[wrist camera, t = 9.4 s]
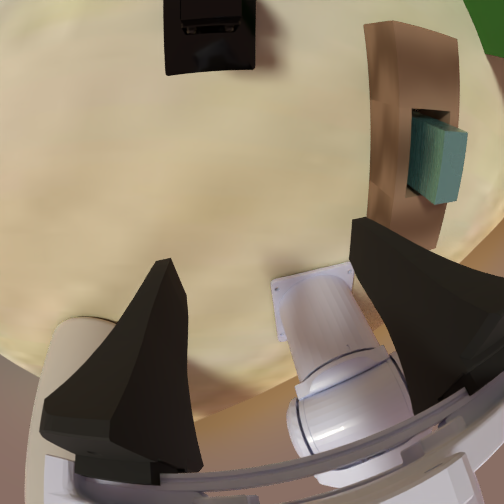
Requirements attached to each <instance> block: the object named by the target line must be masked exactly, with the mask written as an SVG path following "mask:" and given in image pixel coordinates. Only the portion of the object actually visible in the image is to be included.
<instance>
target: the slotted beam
mask: <svg viewBox="0 0 504 504" xmlns="http://www.w3.org/2000/svg"><path fill="white" fill-rule="evenodd" d="M364 33H365V41H366V49H367V60H368V72H369V87H370V113H371V152H370V179H369V195H368V208H367V218H369V219H371V220H373V221H375V222H377V223H379V224H381V225H383V226H385V227H386V228H388V229H390V230H392V231H394V232H395V233H397V234H399V235H401V236H403V237H404V238H406V239H408V240H410V241H412V242H414V243H415V244H417V245H419V246H421V247H423V248H425V249H427V250H431V249H434V248H436V244H437V241H438V237H439V234H440V230H441V226H442V222H443V218H444V214H445V209H446V205H447V203H442V204H437V205H434V204H433V203H431V202H430V201H429V200H428V199H426V198H425V197H424V196H423V195H421V194H420V193H419V192H418V191H416V190H415V189H414V188H412V187H411V186H410V185H408V184H407V177H408V168H409V157H410V142H411V120H412V108H416V109H420V113H421V114H424V115H427V116H429V117H432V118H435V119H437V120H440V121H442V122H445V123H447V124H449V125H452V126H454V127H456V128H458V121H459V98H460V77H459V55H458V42H457V39H455V38H453V37H450V36H447V35H444V34H441V33H438V32H435V31H432V30H428V29H425V28H421V27H418V26H414V25H410V24H406V23H402V22H398V21H385V22H377V23H371V24H365V25H364Z"/></svg>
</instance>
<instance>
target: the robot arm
mask: <svg viewBox="0 0 504 504" xmlns="http://www.w3.org/2000/svg"><path fill="white" fill-rule="evenodd" d="M349 260H350V261H349V262H345V263H341V264H337V265H332V266H328V267H324V268H320V269H316V270H311V271H307V272H303V273H299V274H294V275H290V276H286V277H281V278H277V279H274V280H272V281H271V291H272V299H273V306H274V313H275V321H276V328H277V336H278V340H279V341H280V342H283V341H288V344H289V347H290V351H291V354H292V357H293V361H294V364H295V368H296V371H297V374H298V378H299V381H300V384H298V385H296V386H295V389H296V393H297V396H298V397H295V398H293V399H292V400H291V401H290V404H289V407H288V410H287V415H286V419H287V426H288V431H289V435H290V437H291V440H292V443H293V445H294V447H295V450H296V451H297V453H298V455H299V456H300V458H298V459H294V460H290V461H285V462H280V463H276V464H270V465H264V466H259V467H252V468H246V469H238V470H230V471H219V472H206V473H195V472H199V471H200V470H201V469H202V467H203V466H204V465H203V462H202V458H201V454H200V450H199V446H198V442H197V437H196V432H195V427H194V421H193V416H192V409H191V402H190V395H189V387H188V377H187V346H188V307H187V295H186V293H185V291H184V288H183V286H182V284H181V281H180V279H179V277H178V274H177V272H176V269H175V267H174V265H173V262H172V260H171V258H168V259H163V260H159V261H156V262H155V264H154V265H153V267H152V268H151V270H150V272H149V273H148V275H147V277H146V278H145V280H144V282H143V283H142V285H141V287H140V288H139V290H138V292H137V293H136V295H135V297H134V298H133V300H132V301H131V303H130V304H129V306H128V307H127V309H126V310H125V312H124V313H123V315H122V316H121V318H120V320H119V321H118V322H117V324H116V325H115V327H114V328H113V329H112V331H111V332H110V333H109V334H108V336H107V337H106V338H105V340H104V341H103V342H102V343H101V345H100V346H99V347H98V348H97V349H96V350H95V351H94V352H93V354H92V355H91V356H90V357H89V358H88V359H87V361H86V362H85V363H84V364H83V365H82V366H81V367H80V368H79V369H78V370H77V371H76V372H75V373H74V374H73V375H72V376H71V377H70V378H69V379H67V380H66V381H65V382H64V383H63V384H62V385H61V386H59V387H58V388H57V389H56V390H55V391H53V392H52V393H51V394H50V395H49V396H47V397H46V398H45V399H44V403H43V409H42V414H41V421H40V427H39V433H40V434H41V436H42V437H43V438H44V439H46V440H47V441H49V442H51V443H53V444H54V445H56V446H58V447H61V448H63V449H65V450H67V451H69V452H71V453H73V454H75V461H73V460H70V459H66V458H62V457H58V456H54V455H50V454H46V455H45V466H44V504H260V503H259V498H258V496H257V495H249V496H246V495H236V496H221V497H208V495H207V494H205V493H202V492H217V491H230V490H239V489H248V488H255V487H262V486H268V485H274V484H279V483H284V482H289V481H293V480H298V479H302V478H306V477H310V476H314V477H315V478H317V479H318V481H319V483H320V484H323V485H327V486H331V487H337V488H339V489H336V490H332V491H329V492H325V493H322V494H318V495H314V496H311V497H307V498H303V499H298V500H294V501H289V502H285V503H280V504H485V503H484V499H483V496H482V493H481V489H480V486H479V483H478V480H477V477H476V474H475V471H476V470H477V469H478V468H479V467H480V466H481V465H482V464H484V463H485V461H487V460H488V458H490V457H491V456H492V454H493V453H495V451H496V450H497V449H498V448H499V447H500V446H501V445H502V444H503V443H504V278H503V277H498V276H495V275H491V274H488V273H484V272H481V271H477V270H474V269H471V268H469V267H466V266H463V265H460V264H458V263H456V262H453V261H451V260H448V259H446V258H444V257H442V256H439V255H437V254H435V253H433V252H431V251H429V250H427V249H425V248H423V247H421V246H419V245H417V244H415V243H414V242H412V241H410V240H408V239H406V238H404V237H403V236H401V235H399V234H397V233H395V232H394V231H392V230H390V229H388V228H386V227H385V226H383V225H381V224H379V223H377V222H375V221H373V220H371V219H369V218H367V217H363V218H358V219H353V220H352V231H351V244H350V255H349ZM354 271H355V274H356V276H357V278H358V280H359V281H360V283H361V285H362V286H363V288H364V290H365V291H366V293H367V295H368V296H369V298H370V299H371V301H372V303H373V304H374V306H375V308H376V309H377V311H378V313H379V314H380V316H381V318H382V320H383V321H384V323H385V325H386V327H387V329H388V331H389V334H390V337H391V339H392V341H393V344H394V346H395V349H396V351H395V352H393V353H391V354H389V355H388V353H387V351H386V349H385V347H384V345H381V346H380V345H379V343H378V341H377V339H376V337H375V335H374V333H373V331H372V330H371V328H370V326H369V324H368V322H367V320H366V318H365V316H364V315H363V313H362V311H361V309H360V307H359V305H358V304H357V302H356V300H355V298H354V296H353V295H352V293H351V291H352V284H353V277H354ZM277 287H278V288H277ZM275 288H276V289H275ZM438 423H439V425H438V429H437V430H436V431H434V432H432V429H433V426H435V425H436V424H438ZM178 473H180V474H178Z"/></svg>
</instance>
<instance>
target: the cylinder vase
mask: <svg viewBox="0 0 504 504" xmlns="http://www.w3.org/2000/svg"><path fill="white" fill-rule="evenodd" d="M115 325H116V324H115V323H112V322H110V321H106V320H103V319H98V318H93V317H74V318H70V319H67V320H65V321H63V322H61V323H60V324H59V325H58V326H57V327H56V328H55V330H54V333H53V336H52V339H51V342H50V345H49V348H48V351H47V355H46V358H45V362H44V365H43V369H42V373H41V376H40V380H39V385H38V389H37V393H36V398H35V403H34V408H33V413H32V418H31V424H30V431H29V438H28V447H27V457H26V470H25V504H44V466H45V455H46V454H50V455H54V456H58V457H62V458H66V459H70V460H73V461H75V454H73V453H71V452H69V451H67V450H65V449H63V448H61V447H58V446H56V445H54V444H53V443H51V442H49V441H47V440H46V439H44V438H43V437H42V436H41V434H40V433H39V427H40V421H41V414H42V409H43V403H44V399H45V398H46V397H47V396H49V395H50V394H51V393H52V392H53V391H55V390H56V389H57V388H58V387H59V386H61V385H62V384H63V383H64V382H65V381H66V380H67V379H69V378H70V377H71V376H72V375H73V374H74V373H75V372H76V371H77V370H78V369H79V368H80V367H81V366H82V365H83V364H84V363H85V362H86V361H87V359H88V358H89V357H90V356H91V355H92V354H93V352H94V351H95V350H96V349H97V348H98V347H99V346H100V345H101V343H102V342H103V341H104V340H105V338H106V337H107V336H108V334H109V333H110V332H111V331H112V329H113V328H114V327H115Z"/></svg>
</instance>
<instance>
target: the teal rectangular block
mask: <svg viewBox="0 0 504 504" xmlns="http://www.w3.org/2000/svg"><path fill="white" fill-rule="evenodd" d="M467 135H468V133H467V132H465V131H463V130H461V129H459V128H456V127H454V126H452V125H449V124H447V123H445V122H442V121H440V120H437V119H435V118H432V117H429V116H427V115H424V114H421V113H418V112H416V111H412V120H411V142H410V157H409V168H408V177H407V184H408V185H410V186H411V187H412V188H414V189H415V190H416V191H418V192H419V193H420V194H421V195H423V196H424V197H425V198H426V199H428V200H429V201H430V202H431V203H433V204H434V205H437V204H442V203H448V202H453V201H457V197H458V192H459V187H460V182H461V177H462V171H463V165H464V159H465V152H466V144H467Z"/></svg>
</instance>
